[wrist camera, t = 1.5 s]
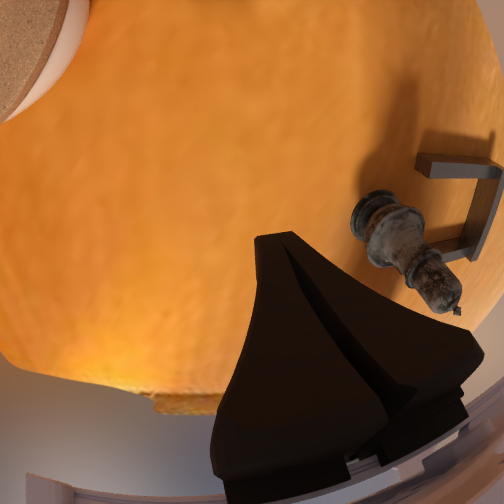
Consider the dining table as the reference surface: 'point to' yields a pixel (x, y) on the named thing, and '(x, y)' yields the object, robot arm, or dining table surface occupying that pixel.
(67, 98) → the dining table surface
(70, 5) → the lidded jar
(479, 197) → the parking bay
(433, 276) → the weathered grey candle holder
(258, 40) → the dining table surface
